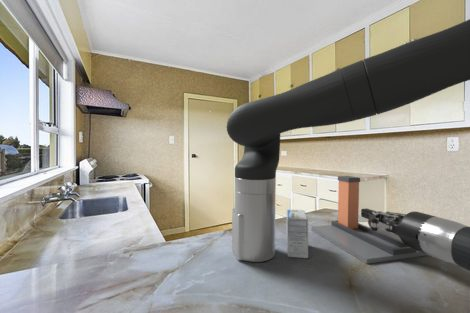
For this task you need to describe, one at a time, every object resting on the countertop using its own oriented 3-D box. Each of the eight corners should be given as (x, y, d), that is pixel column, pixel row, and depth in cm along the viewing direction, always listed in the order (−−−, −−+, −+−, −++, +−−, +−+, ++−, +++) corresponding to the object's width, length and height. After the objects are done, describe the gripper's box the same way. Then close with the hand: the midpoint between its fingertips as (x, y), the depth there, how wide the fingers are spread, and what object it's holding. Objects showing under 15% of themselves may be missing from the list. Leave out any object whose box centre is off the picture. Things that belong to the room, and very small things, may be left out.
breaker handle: (347, 229, 62) (348, 178, 62) (336, 224, 66) (337, 176, 66) (359, 228, 63) (360, 177, 62) (347, 223, 67) (348, 175, 67)
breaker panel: (366, 263, 46) (366, 253, 46) (311, 229, 65) (311, 222, 65) (439, 253, 50) (439, 244, 50) (367, 224, 70) (367, 217, 70)
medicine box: (308, 259, 48) (309, 219, 47) (287, 257, 48) (287, 218, 48) (304, 244, 55) (304, 209, 55) (286, 242, 56) (286, 208, 56)
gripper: (461, 215, 44) (383, 197, 61) (409, 219, 41) (342, 199, 57) (460, 252, 44) (383, 224, 61) (408, 260, 41) (341, 228, 58)
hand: (363, 212), depth 59 cm, fingers closed
